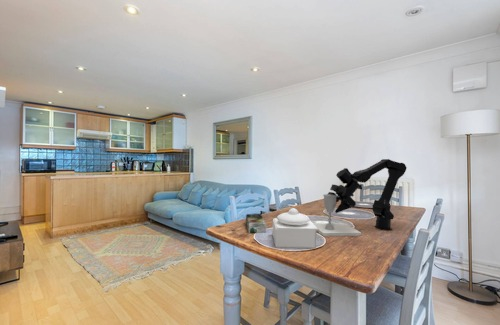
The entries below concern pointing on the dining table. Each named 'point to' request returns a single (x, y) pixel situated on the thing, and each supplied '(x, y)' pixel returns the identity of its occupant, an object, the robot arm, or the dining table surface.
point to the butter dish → (294, 230)
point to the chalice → (329, 208)
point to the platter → (337, 230)
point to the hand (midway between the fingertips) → (330, 210)
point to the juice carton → (255, 223)
